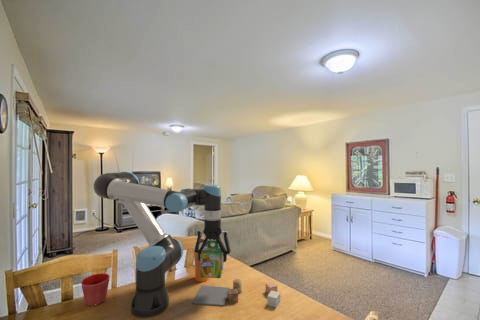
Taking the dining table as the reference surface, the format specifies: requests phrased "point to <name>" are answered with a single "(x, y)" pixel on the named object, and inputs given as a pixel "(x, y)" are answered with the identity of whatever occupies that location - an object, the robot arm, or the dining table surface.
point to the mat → (211, 296)
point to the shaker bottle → (198, 264)
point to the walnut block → (232, 295)
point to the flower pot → (95, 288)
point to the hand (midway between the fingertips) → (212, 268)
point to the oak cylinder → (237, 285)
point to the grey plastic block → (274, 298)
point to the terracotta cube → (271, 287)
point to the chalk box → (211, 260)
